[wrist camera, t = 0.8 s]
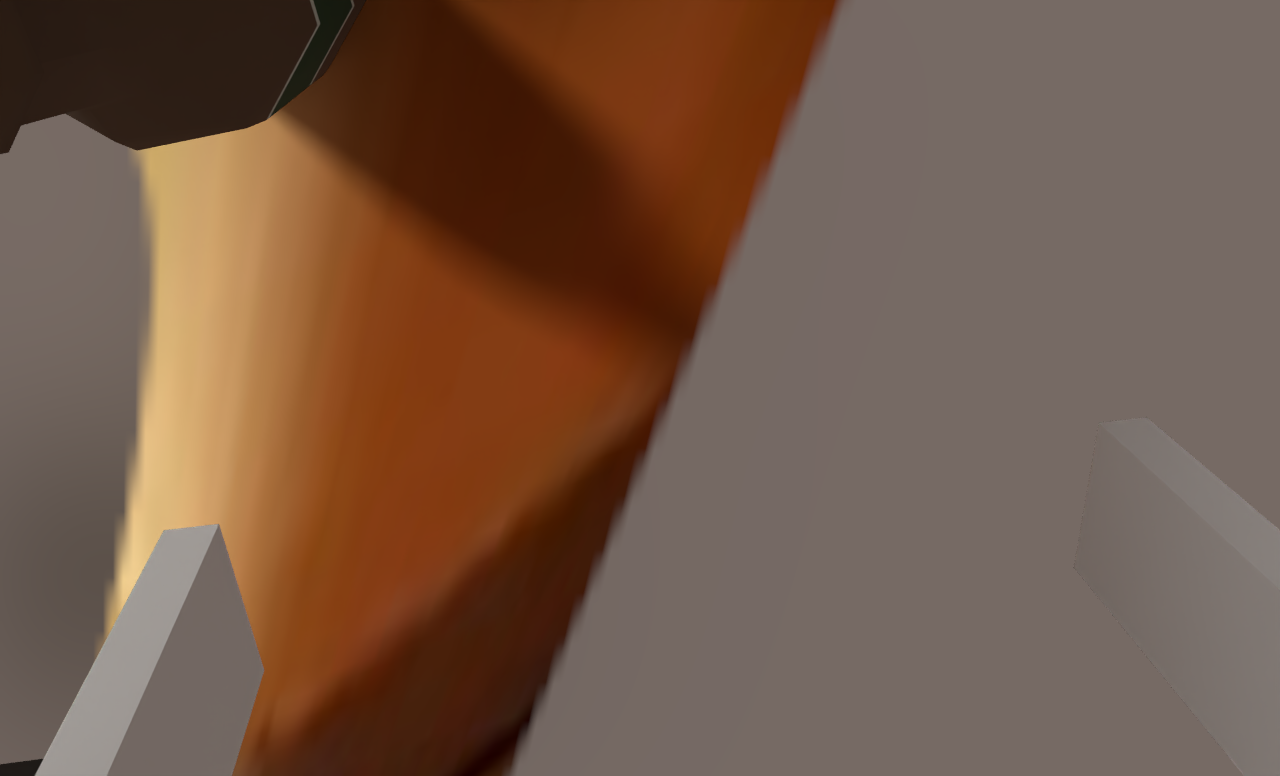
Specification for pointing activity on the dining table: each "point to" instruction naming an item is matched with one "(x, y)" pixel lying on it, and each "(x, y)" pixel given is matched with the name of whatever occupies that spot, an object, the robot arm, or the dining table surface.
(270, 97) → the beer bottle
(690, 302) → the dining table surface
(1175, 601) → the robot arm
